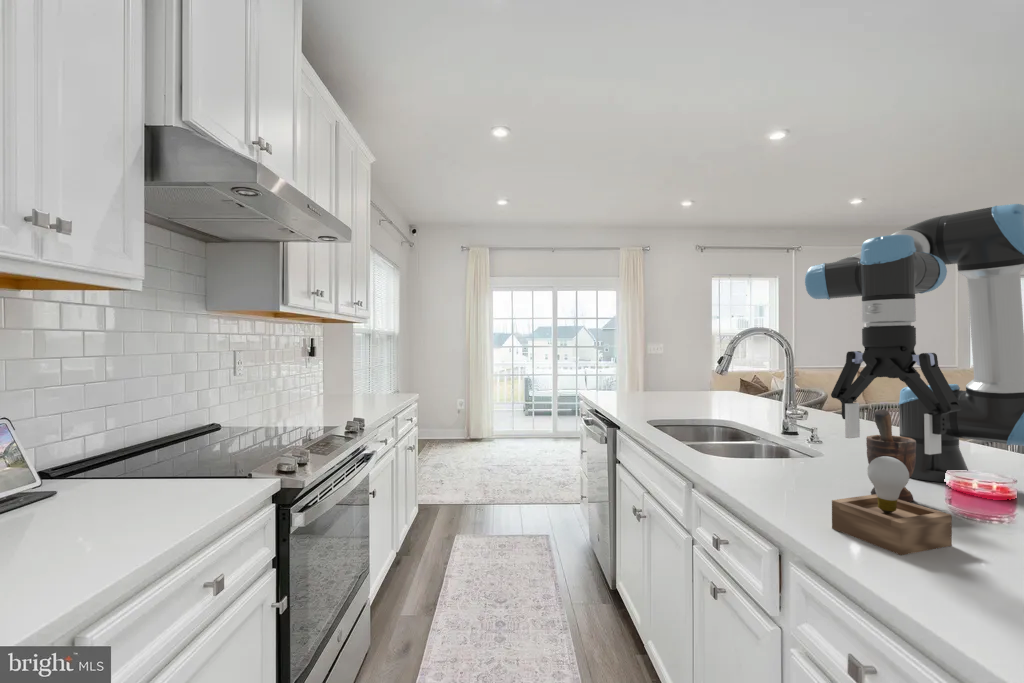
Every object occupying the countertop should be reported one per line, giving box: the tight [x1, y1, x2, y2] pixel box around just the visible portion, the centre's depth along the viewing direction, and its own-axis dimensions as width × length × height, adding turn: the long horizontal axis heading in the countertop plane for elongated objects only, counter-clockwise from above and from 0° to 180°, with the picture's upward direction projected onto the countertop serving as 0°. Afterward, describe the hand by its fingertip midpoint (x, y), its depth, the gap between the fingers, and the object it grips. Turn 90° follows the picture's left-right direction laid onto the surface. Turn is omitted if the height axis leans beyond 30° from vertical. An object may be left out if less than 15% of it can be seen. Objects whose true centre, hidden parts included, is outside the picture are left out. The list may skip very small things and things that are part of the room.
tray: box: [831, 494, 953, 556], centre depth 86 cm, size 12×12×5 cm
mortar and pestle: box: [865, 409, 916, 503], centre depth 106 cm, size 12×9×20 cm
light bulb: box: [866, 456, 910, 513], centre depth 87 cm, size 6×6×10 cm
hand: (889, 445), depth 86 cm, fingers open, 13 cm apart
